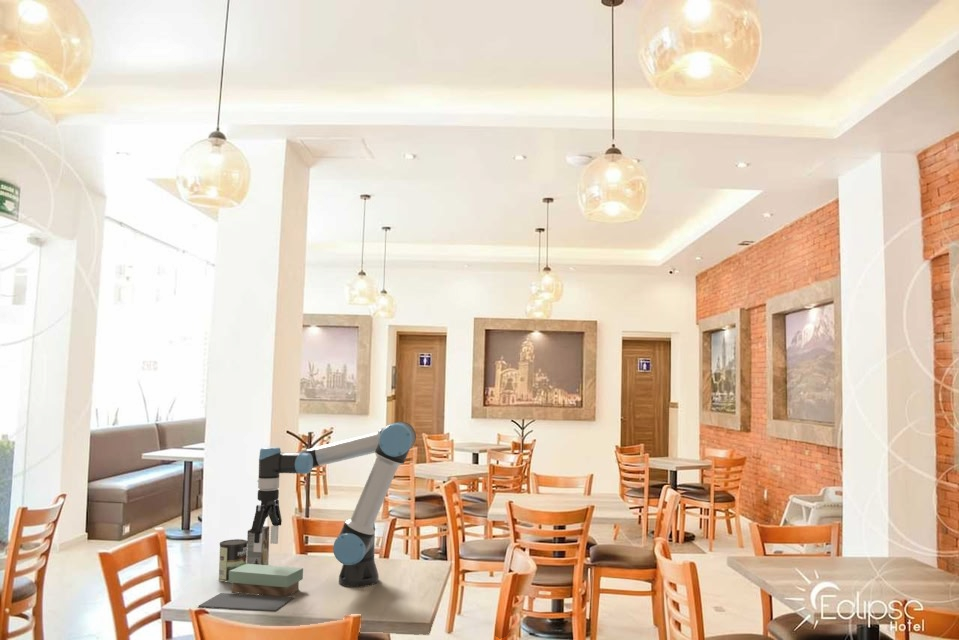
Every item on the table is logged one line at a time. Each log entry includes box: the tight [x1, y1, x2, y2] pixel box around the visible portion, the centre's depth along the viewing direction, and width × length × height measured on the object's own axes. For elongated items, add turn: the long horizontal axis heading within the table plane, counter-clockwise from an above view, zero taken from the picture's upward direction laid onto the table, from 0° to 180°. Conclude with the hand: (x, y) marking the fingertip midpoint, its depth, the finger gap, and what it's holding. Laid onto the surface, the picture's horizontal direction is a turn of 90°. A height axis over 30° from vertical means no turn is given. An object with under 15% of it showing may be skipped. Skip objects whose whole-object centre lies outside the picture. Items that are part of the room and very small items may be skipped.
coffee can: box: [218, 538, 248, 583], centre depth 272 cm, size 10×10×14 cm
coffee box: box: [246, 525, 270, 565], centre depth 288 cm, size 9×6×16 cm
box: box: [231, 581, 300, 596], centre depth 255 cm, size 22×9×7 cm, turn 75°
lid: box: [228, 563, 304, 588], centre depth 256 cm, size 24×11×4 cm, turn 74°
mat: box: [198, 592, 295, 613], centre depth 241 cm, size 28×15×1 cm, turn 81°
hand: (265, 547), depth 257 cm, fingers open, 13 cm apart
